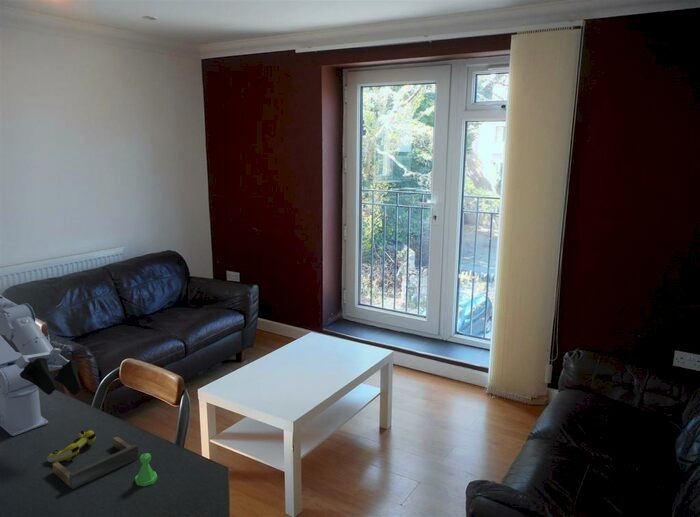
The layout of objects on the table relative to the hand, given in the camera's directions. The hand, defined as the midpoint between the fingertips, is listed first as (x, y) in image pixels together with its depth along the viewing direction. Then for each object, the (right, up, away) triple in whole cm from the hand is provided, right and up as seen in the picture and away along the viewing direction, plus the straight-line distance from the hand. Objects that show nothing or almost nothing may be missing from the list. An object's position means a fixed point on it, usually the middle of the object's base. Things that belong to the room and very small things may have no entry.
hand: (65, 391), depth 113 cm
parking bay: (+7, -15, -1) cm, 17 cm away
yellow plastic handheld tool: (0, -15, +4) cm, 15 cm away
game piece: (+20, -17, -5) cm, 26 cm away
